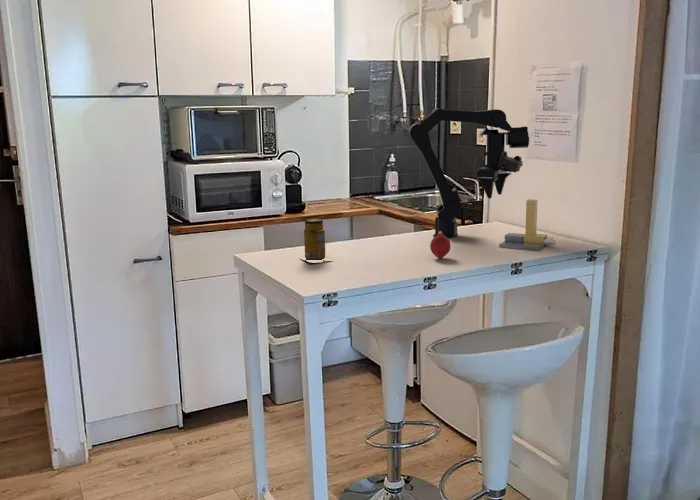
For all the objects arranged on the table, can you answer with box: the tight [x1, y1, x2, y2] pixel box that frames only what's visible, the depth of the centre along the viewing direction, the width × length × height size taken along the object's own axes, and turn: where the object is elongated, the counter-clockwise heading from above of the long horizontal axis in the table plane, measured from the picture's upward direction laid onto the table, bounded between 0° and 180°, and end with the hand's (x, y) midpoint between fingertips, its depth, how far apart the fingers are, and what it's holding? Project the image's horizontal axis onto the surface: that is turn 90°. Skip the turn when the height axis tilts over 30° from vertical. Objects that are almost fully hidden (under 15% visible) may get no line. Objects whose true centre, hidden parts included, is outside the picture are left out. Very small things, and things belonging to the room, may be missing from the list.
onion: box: [429, 231, 452, 260], centre depth 190 cm, size 6×6×8 cm
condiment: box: [303, 218, 326, 260], centre depth 193 cm, size 7×8×12 cm
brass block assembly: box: [523, 199, 554, 249], centre depth 207 cm, size 12×11×14 cm
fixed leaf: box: [498, 232, 556, 252], centre depth 202 cm, size 15×9×3 cm, turn 58°
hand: (494, 196), depth 218 cm, fingers open, 9 cm apart
